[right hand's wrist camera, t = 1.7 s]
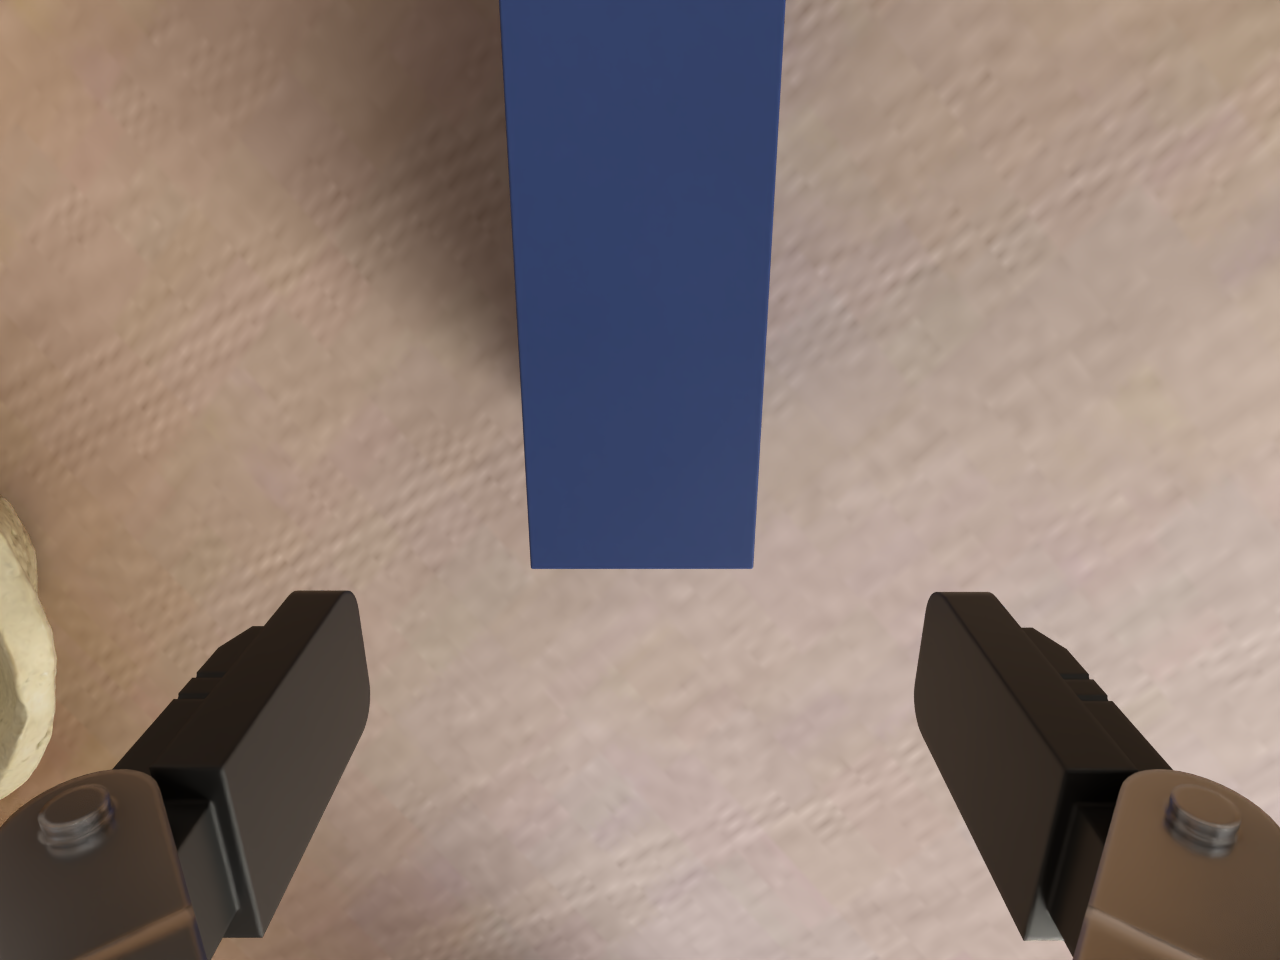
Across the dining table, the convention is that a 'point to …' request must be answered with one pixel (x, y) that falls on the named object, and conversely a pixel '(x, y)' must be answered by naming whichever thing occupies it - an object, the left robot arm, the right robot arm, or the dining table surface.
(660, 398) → the box
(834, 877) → the dining table surface
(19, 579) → the bowl
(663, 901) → the dining table surface
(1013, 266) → the dining table surface
